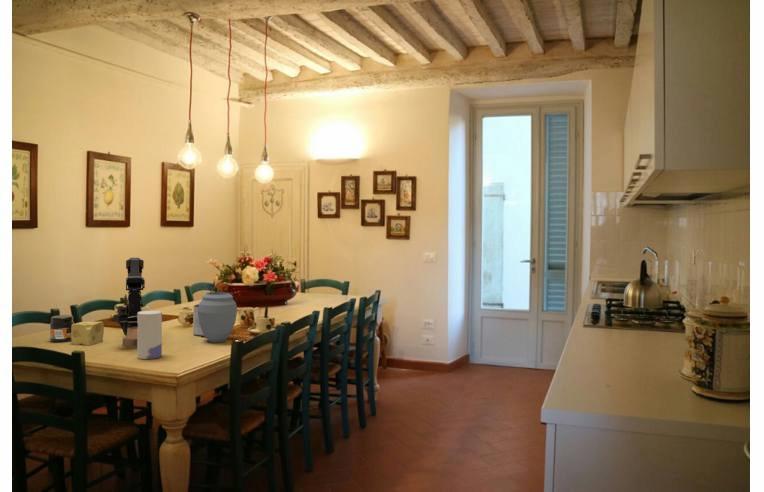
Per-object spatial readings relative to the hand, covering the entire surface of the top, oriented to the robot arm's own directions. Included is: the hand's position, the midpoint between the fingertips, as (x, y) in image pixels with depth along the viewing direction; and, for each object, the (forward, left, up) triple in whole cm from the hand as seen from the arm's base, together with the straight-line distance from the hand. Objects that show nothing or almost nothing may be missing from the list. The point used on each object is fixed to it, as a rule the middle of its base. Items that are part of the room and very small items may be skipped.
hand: (134, 333), depth 273 cm
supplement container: (+15, -38, -6) cm, 41 cm away
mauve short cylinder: (0, 0, -6) cm, 6 cm away
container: (+8, +24, -6) cm, 26 cm away
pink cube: (0, 0, -2) cm, 2 cm away
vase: (-33, +20, -6) cm, 39 cm away
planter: (-42, +2, -6) cm, 43 cm away
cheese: (+10, -24, -6) cm, 27 cm away
